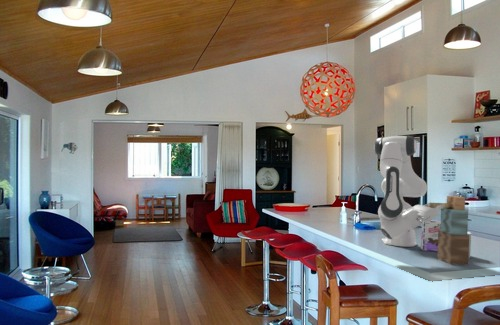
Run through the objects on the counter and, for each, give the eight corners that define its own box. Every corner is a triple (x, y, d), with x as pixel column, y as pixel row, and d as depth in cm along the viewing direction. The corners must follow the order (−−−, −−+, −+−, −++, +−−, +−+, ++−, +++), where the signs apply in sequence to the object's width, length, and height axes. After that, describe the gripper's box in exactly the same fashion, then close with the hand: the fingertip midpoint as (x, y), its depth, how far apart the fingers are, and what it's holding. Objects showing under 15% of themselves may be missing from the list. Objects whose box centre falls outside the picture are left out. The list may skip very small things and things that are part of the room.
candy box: (422, 251, 262) (423, 220, 262) (420, 248, 268) (421, 219, 268) (449, 252, 260) (450, 222, 260) (446, 250, 266) (447, 220, 266)
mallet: (425, 207, 240) (426, 195, 240) (455, 208, 242) (456, 196, 242) (433, 209, 232) (433, 196, 232) (464, 210, 234) (465, 197, 234)
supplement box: (470, 258, 246) (471, 233, 246) (454, 256, 249) (455, 232, 249) (469, 255, 253) (470, 231, 253) (454, 254, 256) (455, 230, 256)
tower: (437, 258, 244) (439, 207, 243) (454, 258, 245) (456, 207, 244) (450, 264, 231) (452, 210, 231) (468, 264, 232) (470, 210, 231)
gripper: (419, 215, 225) (444, 201, 226) (401, 210, 245) (424, 197, 246) (425, 227, 225) (450, 213, 226) (406, 221, 246) (429, 208, 247)
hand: (436, 204), depth 237 cm, fingers open, 8 cm apart
